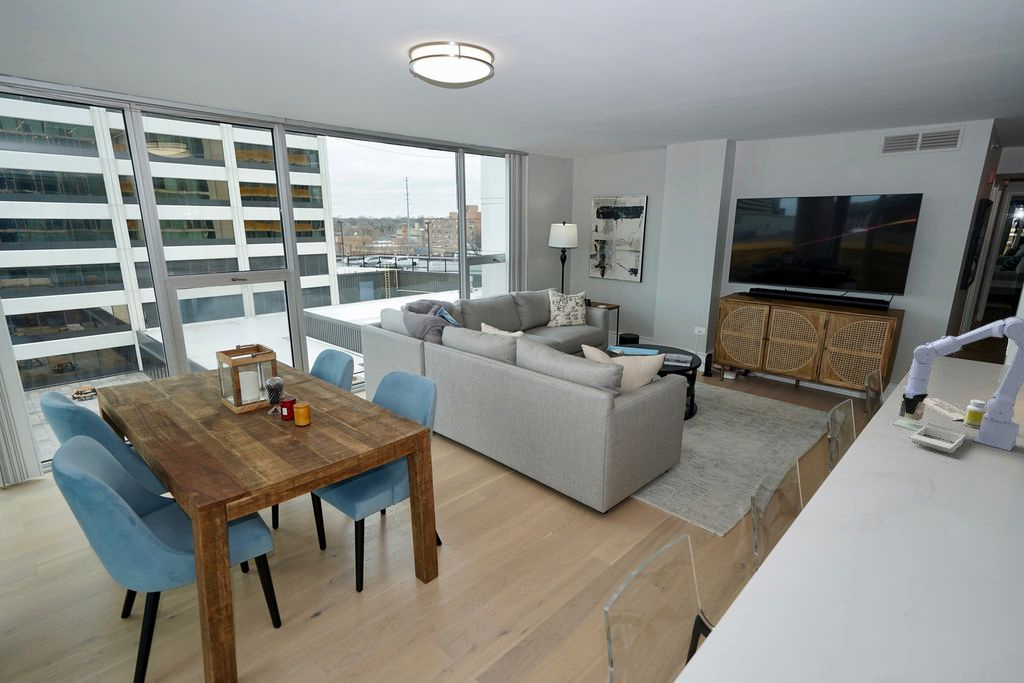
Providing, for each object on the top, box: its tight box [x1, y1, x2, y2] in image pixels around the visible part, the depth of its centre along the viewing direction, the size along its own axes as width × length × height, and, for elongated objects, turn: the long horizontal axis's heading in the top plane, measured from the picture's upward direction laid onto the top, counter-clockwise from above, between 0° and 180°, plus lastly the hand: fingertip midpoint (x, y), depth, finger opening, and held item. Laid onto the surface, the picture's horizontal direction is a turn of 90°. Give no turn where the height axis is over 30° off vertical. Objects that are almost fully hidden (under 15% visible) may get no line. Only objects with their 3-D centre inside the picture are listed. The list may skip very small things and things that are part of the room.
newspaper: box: [922, 397, 966, 421], centre depth 205 cm, size 23×12×2 cm, turn 175°
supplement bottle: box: [962, 399, 987, 429], centre depth 188 cm, size 5×5×10 cm
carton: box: [908, 422, 968, 454], centre depth 174 cm, size 11×20×3 cm, turn 126°
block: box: [898, 399, 926, 421], centre depth 187 cm, size 6×4×6 cm, turn 36°
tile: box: [892, 418, 925, 432], centre depth 189 cm, size 8×7×1 cm
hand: (911, 412), depth 188 cm, fingers closed on block, 4 cm apart
